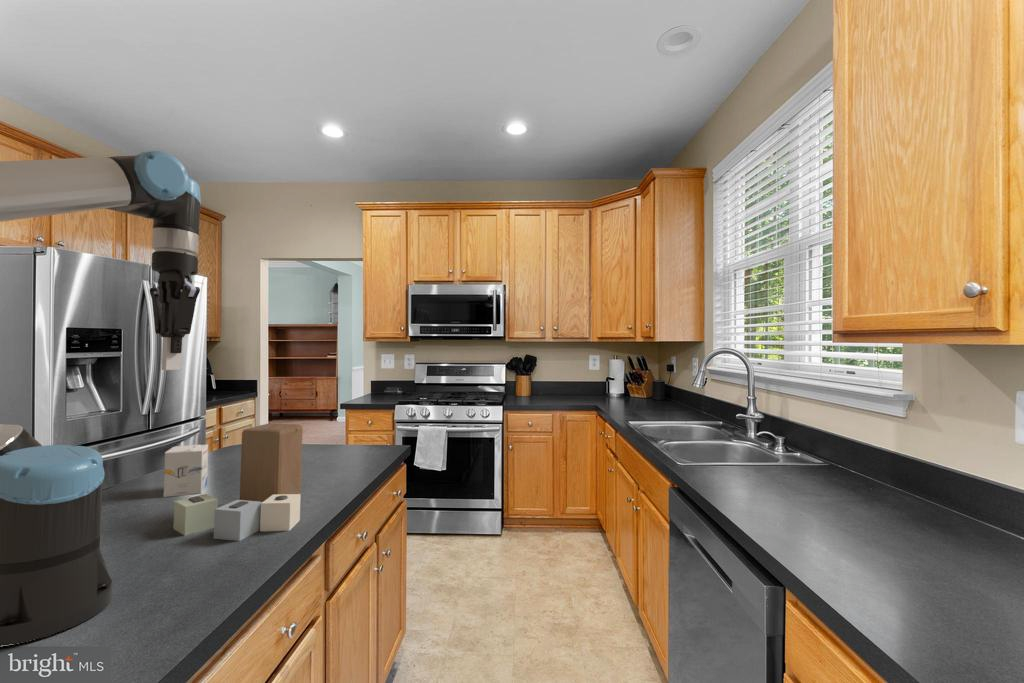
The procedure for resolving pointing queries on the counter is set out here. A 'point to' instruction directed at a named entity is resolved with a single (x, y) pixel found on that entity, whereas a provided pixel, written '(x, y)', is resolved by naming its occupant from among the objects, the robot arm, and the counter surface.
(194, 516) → the marked cube sage
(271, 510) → the marked cube cream
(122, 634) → the counter surface
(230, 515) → the marked cube slate
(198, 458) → the ink box
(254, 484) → the wooden block
